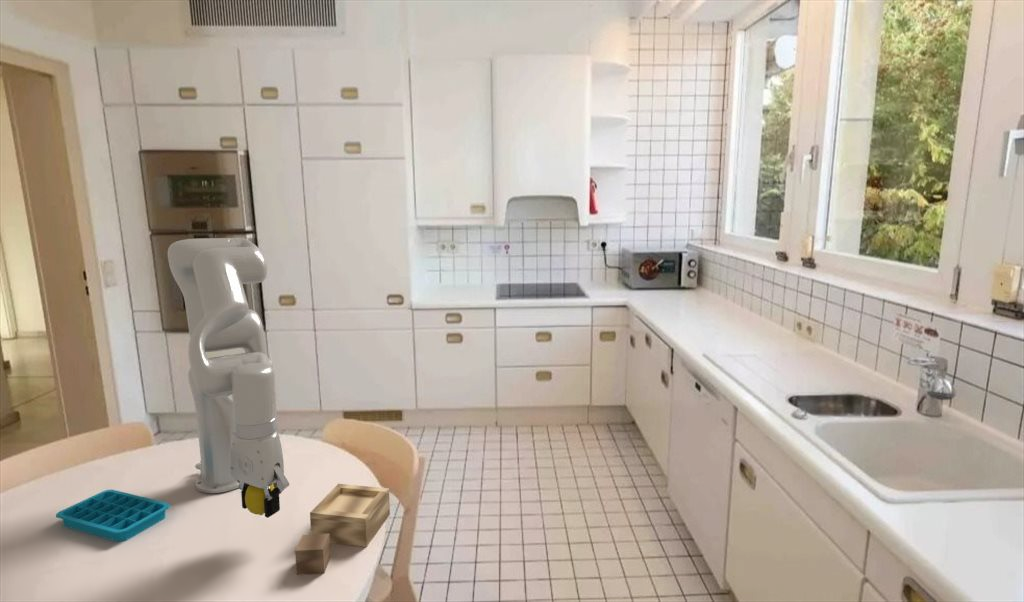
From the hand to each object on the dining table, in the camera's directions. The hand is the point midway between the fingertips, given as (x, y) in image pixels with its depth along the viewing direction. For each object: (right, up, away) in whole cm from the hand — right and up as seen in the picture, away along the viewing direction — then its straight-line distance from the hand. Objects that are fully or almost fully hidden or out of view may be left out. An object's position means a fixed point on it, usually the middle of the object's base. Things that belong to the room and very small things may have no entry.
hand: (261, 508), depth 109 cm
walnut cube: (+13, -8, -7) cm, 17 cm away
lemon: (0, -2, 0) cm, 2 cm away
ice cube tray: (-35, -6, +8) cm, 37 cm away
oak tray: (+17, -6, +6) cm, 19 cm away
